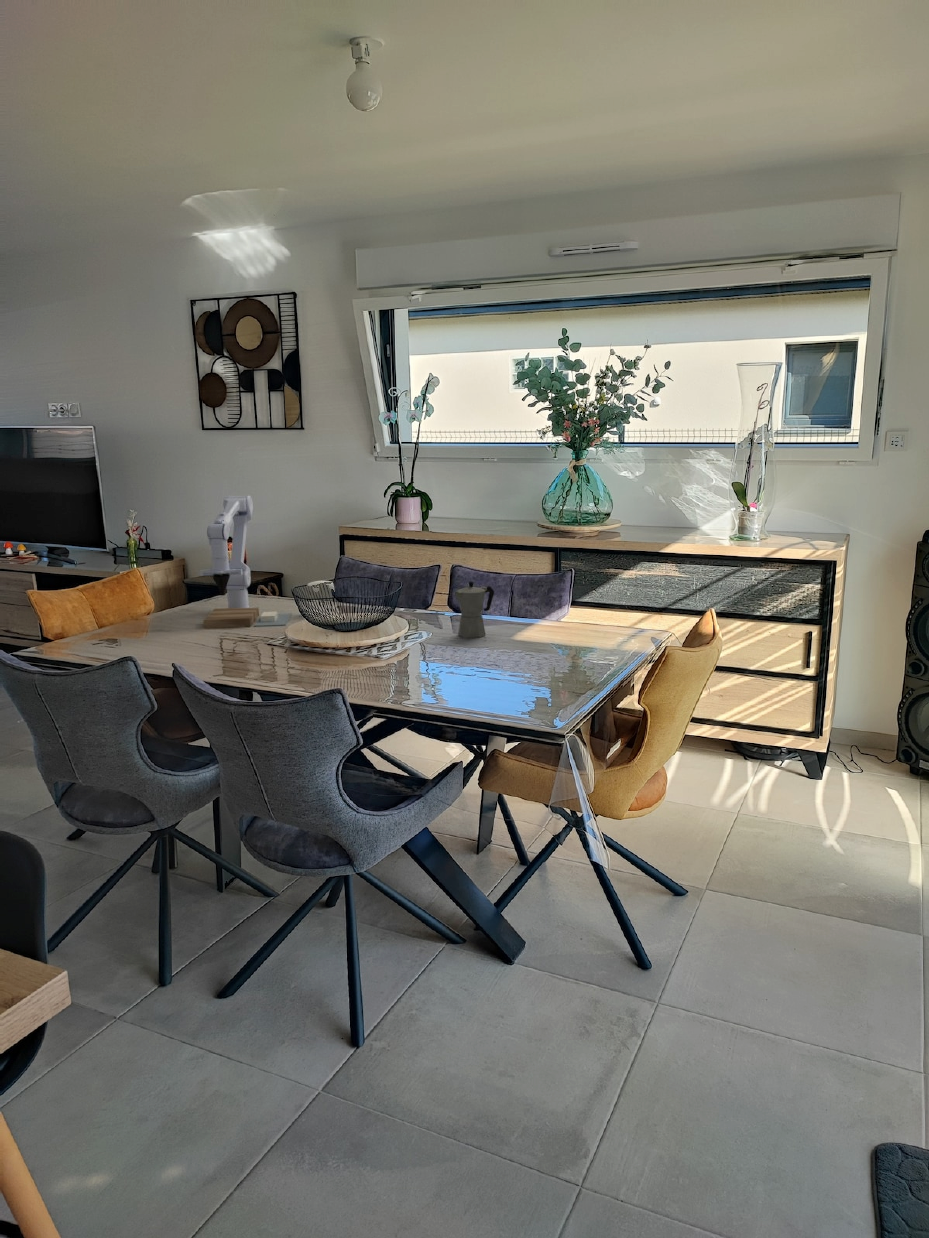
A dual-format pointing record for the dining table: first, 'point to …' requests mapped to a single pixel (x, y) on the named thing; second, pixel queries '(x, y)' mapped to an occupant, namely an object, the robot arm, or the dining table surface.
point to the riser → (231, 617)
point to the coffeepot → (473, 610)
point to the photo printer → (319, 583)
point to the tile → (269, 616)
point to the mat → (279, 621)
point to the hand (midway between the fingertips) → (223, 595)
